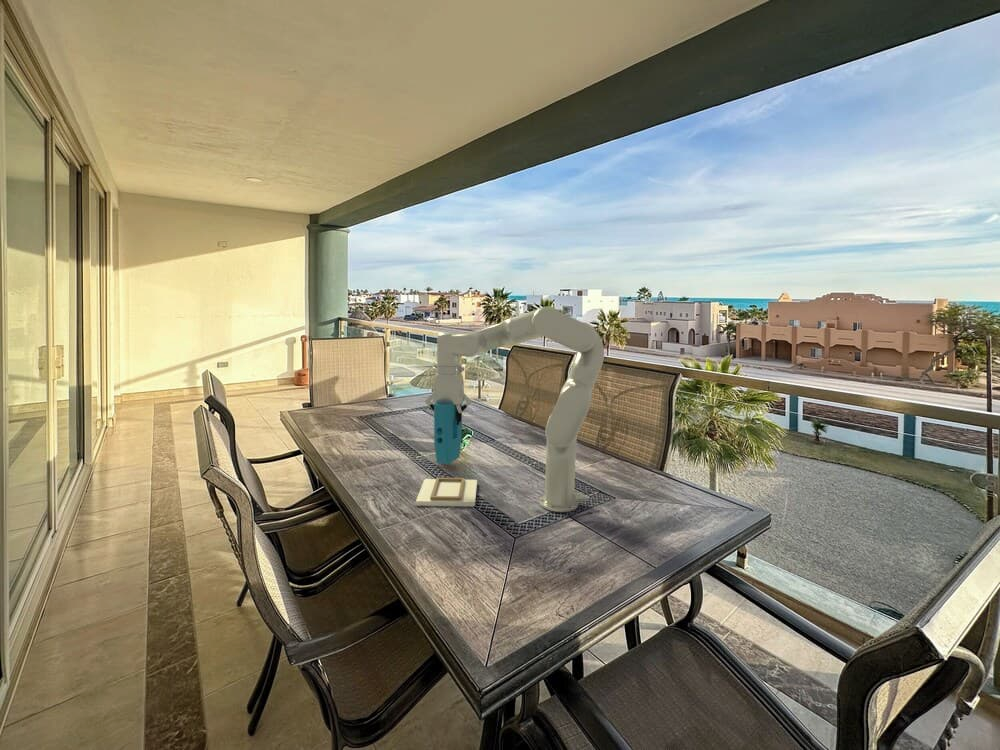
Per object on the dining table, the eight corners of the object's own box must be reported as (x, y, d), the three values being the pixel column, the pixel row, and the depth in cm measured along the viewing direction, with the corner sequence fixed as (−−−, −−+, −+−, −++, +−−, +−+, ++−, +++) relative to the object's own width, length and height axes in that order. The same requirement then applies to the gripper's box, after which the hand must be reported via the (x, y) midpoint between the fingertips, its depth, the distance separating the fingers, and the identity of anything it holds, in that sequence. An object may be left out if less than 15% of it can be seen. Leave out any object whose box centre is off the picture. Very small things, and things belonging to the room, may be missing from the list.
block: (446, 465, 149) (447, 405, 146) (433, 463, 151) (433, 404, 148) (462, 455, 161) (463, 398, 158) (449, 453, 162) (449, 397, 159)
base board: (477, 483, 167) (477, 477, 167) (474, 506, 148) (474, 499, 148) (424, 482, 167) (424, 476, 166) (415, 505, 148) (415, 498, 148)
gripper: (475, 369, 155) (474, 421, 158) (424, 368, 155) (424, 420, 157) (474, 372, 148) (473, 427, 150) (420, 371, 147) (420, 426, 150)
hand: (448, 423), depth 154 cm, fingers closed on block, 5 cm apart
